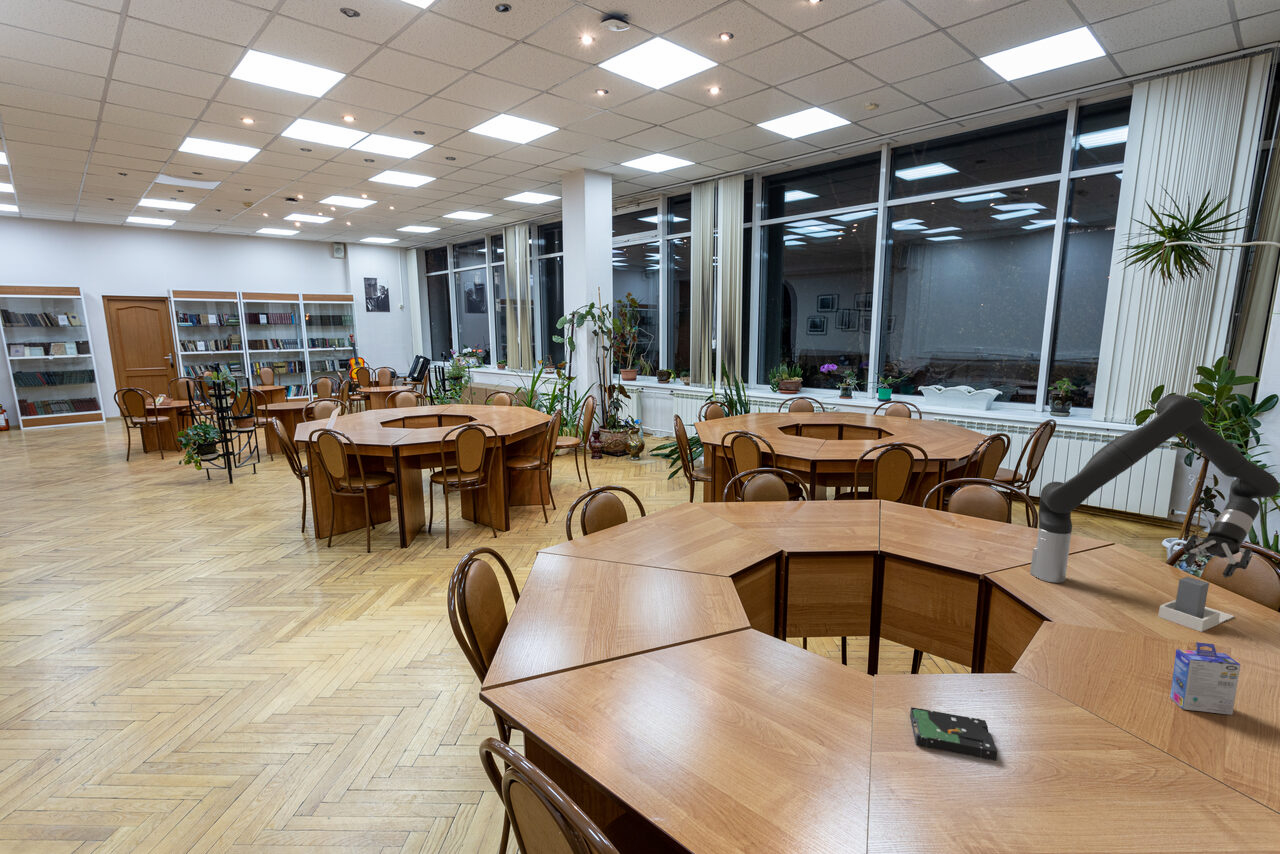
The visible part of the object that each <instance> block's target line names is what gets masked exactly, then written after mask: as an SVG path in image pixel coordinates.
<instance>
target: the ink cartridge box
mask: <svg viewBox="0 0 1280 854" xmlns="http://www.w3.org/2000/svg"><path fill="white" fill-rule="evenodd" d="M1195 647H1196V650H1190V649H1188V650H1187V649H1178V648H1177V649H1176V650H1175V657H1174V664H1173V666H1174V667H1173V673H1172V681H1171V686H1170V687H1171V688H1170V689H1171V690H1170V696H1169V698H1170V699H1171V700H1172V701H1173V702H1174V703H1175V704H1176V705H1178V707H1179V708H1180V709H1182V710H1186V711H1197V712H1205V713H1213V714H1221V715H1228V716H1229V715H1230V716H1231V715H1233V712H1234V706H1235V701H1236V695H1237V689H1238V688H1237V687H1238V683H1239V676H1240V671H1241V666H1242V665H1241V663H1239V662H1237V661H1236V660H1235V659H1233V658H1232V657H1231V656H1229V655H1228V654H1226V653H1225V652H1217V650H1216V647H1215V644H1214V643H1207V642H1206V643H1205V642H1197V641H1196V642H1195ZM1203 647H1204V648H1205V647H1207V648H1210V649H1211V650H1206V649H1201V648H1203Z"/></svg>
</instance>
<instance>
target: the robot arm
mask: <svg viewBox="0 0 1280 854" xmlns="http://www.w3.org/2000/svg"><path fill="white" fill-rule="evenodd" d="M1204 410H1205V409H1204V405H1203V404H1202V402H1201V401H1199V400H1197V399H1195V398H1193V397H1190V396H1186V395H1181V394H1169V395H1166V396H1163V397H1161V399H1159V400H1158V402H1157V404H1156V407H1155V411H1156V414H1157V416H1156V417H1154V418H1153V419H1152V420H1151V421H1149V422H1148V423H1145V424H1144V425H1143V426H1140V427H1138V428H1136V429H1135V430H1132V431H1129V432H1126V433H1124V434H1122V435H1120V436H1118V437H1116V438H1114V439H1112V440H1111V441H1110V442H1109V443H1106V444H1105V445H1104V446H1103V447H1101V448H1100V449H1099V450H1097V451H1096V452H1095V453H1094V454H1093V455H1092V457H1091V458H1090V459H1089V461H1088V462H1087V463H1086V464H1085V465H1084V466H1083V468H1082V469H1081V470H1080V471H1079V472H1078V473H1077V474H1076V475H1075V476H1073V477H1072V478H1070V479H1068V480H1067V481H1065V482H1062V481H1051V482H1049V483H1047V484H1046V485H1044V486H1043V487H1042V489H1041V492H1040V498H1039V506H1038V507H1039V508H1038V530H1037V531H1038V532H1037V539H1036V546H1035V547H1033V549H1032V555H1031V564H1030V573H1029V574H1030V575H1032V576H1033V577H1034V578H1036V577H1037V579H1038V578H1039V579H1038V580H1041V581H1044V582H1049V583H1055V584H1056V583H1057V584H1059V583H1064V582H1066V576H1067V569H1068V560H1069V554H1070V545H1071V538H1072V531H1073V530H1072V529H1073V523H1072V516H1071V515H1072V511H1074V510H1076V509H1077V507H1079V506H1080V505H1081V504H1082V503H1083V502H1084V501H1085V500H1087V499H1088V498H1089V497H1090V496H1091V495H1092V494H1093V493H1095V492H1096V491H1097V490H1099V489H1100V488H1102V487H1103V486H1105V485H1107V484H1108V483H1109V482H1110V481H1112V480H1114V479H1115V478H1116V477H1118V476H1120V475H1121V474H1122V473H1124V472H1125V471H1127V470H1128V469H1129V468H1131V467H1132V466H1134V465H1135V464H1136V463H1138V462H1139V461H1140V460H1141V459H1143V458H1144V457H1146V456H1147V455H1149V454H1150V453H1152V452H1153V451H1154V450H1155V449H1157V448H1158V447H1160V446H1161V445H1162V444H1164V443H1165V442H1167V441H1168V440H1170V439H1172V438H1173V437H1175V436H1178V435H1179V434H1180V433H1181V434H1182V435H1183V436H1184V437H1185V438H1187V440H1189V441H1190V442H1191V443H1192V444H1193V445H1194V446H1195V447H1196V448H1197V449H1198V450H1199V451H1200V452H1201V453H1202V454H1203V455H1204V456H1205V457H1206V458H1207V459H1208V460H1209V461H1210V462H1211V463H1212V464H1213V465H1214V466H1215V467H1216V468H1217V469H1218V470H1219V471H1220V472H1221V473H1222V474H1223V476H1224V475H1225V476H1226V477H1229V478H1236V479H1234V480H1233V481H1232V482H1231V484H1230V488H1229V495H1228V502H1227V503H1226V505H1225V507H1224V509H1223V510H1222V512H1221V513H1220V514H1219V515H1218V517H1217V519H1216V520H1215V522H1214V523H1213V525H1212V527H1211V529H1210V530H1209V531H1208V534H1207V536H1206V537H1200V536H1198V535H1197V534H1192V535H1191V536H1190V537H1189V539H1188V540H1187V541H1186V543H1185V544H1184V546H1183V547H1182V548H1183V550H1184V553H1185V554H1188V555H1187V557H1186V558H1185V560H1184V563H1185V565H1186V566H1187V567H1188V568H1192V567H1193V565H1194V563H1195V561H1196V559H1197V558H1198V557H1201V556H1207V555H1208V554H1209V556H1214V557H1219V558H1222V559H1224V558H1225V559H1227V560H1228V562H1229V563H1227V565H1226V567H1225V568H1224V570H1223V572H1222V576H1223V578H1226V579H1228V578H1229V577H1230V578H1231V577H1232V576H1233V574H1234V573H1235V571H1236V570H1237V569H1242V570H1246V569H1247V568H1248V566H1249V564H1250V562H1251V559H1252V557H1253V555H1254V554H1253V550H1252V548H1250V547H1246V548H1243V547H1241V546H1242V545H1243V543H1244V541H1245V539H1246V538H1247V536H1248V534H1249V533H1250V532H1251V531H1250V530H1251V528H1252V526H1253V524H1254V522H1255V519H1256V518H1257V516H1258V514H1259V513H1260V509H1261V507H1260V504H1259V503H1258V502H1256V501H1255V500H1253V499H1264V498H1272V497H1275V496H1276V495H1278V494H1279V492H1280V483H1279V481H1278V480H1277V478H1276V477H1275V476H1274V475H1272V474H1271V473H1270V472H1269V471H1267V470H1265V469H1264V468H1262V467H1260V466H1259V465H1257V464H1255V463H1253V462H1251V461H1249V459H1247V458H1246V457H1245V456H1244V455H1243V453H1241V452H1240V450H1238V449H1237V448H1236V447H1235V446H1234V445H1233V444H1232V443H1230V442H1229V441H1228V440H1227V439H1225V438H1224V437H1222V436H1221V435H1220V434H1218V433H1217V432H1216V431H1214V429H1212V428H1211V427H1210V426H1208V425H1207V424H1206V423H1205V422H1204V421H1203V420H1202V419H1201V418H1202V417H1203V415H1204ZM1201 543H1202V544H1201ZM1199 544H1200V545H1199ZM1196 546H1197V547H1196ZM1239 553H1240V554H1241V558H1240V560H1239V561H1236V560H1235V557H1234V555H1237V554H1239Z"/></svg>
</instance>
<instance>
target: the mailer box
mask: <svg viewBox="0 0 1280 854" xmlns="http://www.w3.org/2000/svg"><path fill="white" fill-rule="evenodd" d="M1175 604H1176V599H1174V600H1170V601H1169V602H1166V603H1163V604H1161V605H1160V606H1159V608H1158V609H1159V610H1158V615H1157V616H1158V618H1161V619H1164V620H1166V621H1170V622H1172V623H1176V624H1178V625H1181V626H1184V627H1186V628H1190V629H1193V630H1194V631H1195V630H1196V631H1198V632H1201V633H1202V632H1205V631H1207V630H1209V629H1212V628H1213V627H1216V626H1218V625H1220V624H1223V623H1225V622H1227V621H1230V620H1231V619H1234V618H1235V615H1232V614H1230V613H1226V612H1223V611H1220V610H1217V609H1214V608H1211V607H1208V606H1205V610H1204V615H1203V619H1200V618H1197V617H1194V616H1191V615H1188V614H1185V613H1182V612H1180V611H1177V610H1175ZM1233 617H1234V618H1233ZM1226 620H1227V621H1226ZM1224 621H1225V622H1224ZM1222 622H1223V623H1222Z"/></svg>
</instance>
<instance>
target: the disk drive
mask: <svg viewBox="0 0 1280 854" xmlns="http://www.w3.org/2000/svg"><path fill="white" fill-rule="evenodd" d="M909 717H910V718H909V719H910V723H911V727H912V733H913V737H914V743H915V746H917V747H918V746H919V747H923V748H928V749H931V750H932V749H933V750H939V751H943V752H947V753H948V752H949V753H953V754H959V755H963V756H969V757H970V756H971V757H975V758H980V759H984V760H989V761H997V759H998V758H997V757H998V749H997V747H996V744H995V741H994V739H993V737H992V734H991V732H989V727H988V724H987V721H986V720H985V719H980V718H975V717H969V716H962V715H957V714H951V713H946V712H941V711H935V710H930V709H923V708H917V707H913V706H912V707H910V711H909Z"/></svg>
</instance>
